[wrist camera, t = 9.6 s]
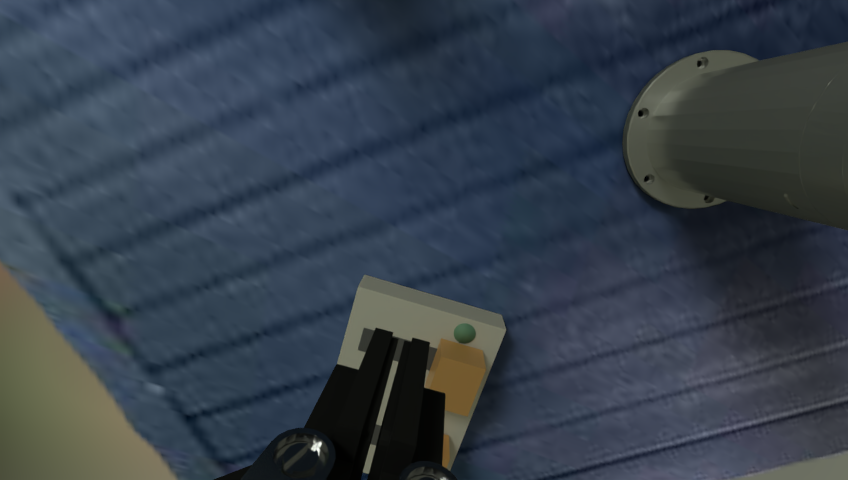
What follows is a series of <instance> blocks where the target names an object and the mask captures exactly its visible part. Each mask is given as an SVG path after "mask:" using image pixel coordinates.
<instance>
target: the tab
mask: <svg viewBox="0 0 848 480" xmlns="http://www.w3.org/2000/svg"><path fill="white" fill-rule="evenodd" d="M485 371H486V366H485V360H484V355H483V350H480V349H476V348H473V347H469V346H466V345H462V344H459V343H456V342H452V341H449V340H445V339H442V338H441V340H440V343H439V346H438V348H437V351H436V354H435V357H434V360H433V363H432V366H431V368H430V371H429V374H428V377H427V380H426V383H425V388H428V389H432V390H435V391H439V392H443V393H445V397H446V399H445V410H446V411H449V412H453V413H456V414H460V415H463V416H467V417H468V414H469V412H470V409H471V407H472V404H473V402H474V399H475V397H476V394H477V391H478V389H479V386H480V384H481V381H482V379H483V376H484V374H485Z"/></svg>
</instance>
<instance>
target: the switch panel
mask: <svg viewBox="0 0 848 480" xmlns="http://www.w3.org/2000/svg"><path fill="white" fill-rule="evenodd" d="M375 328H380V329H383V330H387V331H391V332H393V336H392V337H394V338H398V339H399V340H398V344H397V348H396V351H395V355H394V359H393V363H392V366H391V370H390V374H389V377H388V381H387V385H386V389H385V392H384V396H383V400H382V404H381V407H380V411H379V415H378V418H377V422H376V426H375V429H374V433H373V437H372V440H371V444H370V447H369V451H368V455H367V458H366V462H365V466H364V469H363V472H364V473H368V474H369V471H370V467H371V463H372V460H373V456H374V452H375V448H376V444H377V440H378V436H379V432H380V429H381V425H382V421H383V417H384V413H385V410H386V406H387V402H388V399H389V395H390V391H391V388H392V384H393V380H394V377H395V373H396V369H397V366H398V362H399V358H400V355H401V351H402V347H403V344H404V340H405V341H409V342H411V341H412V338H417V339H420V340H424V341H428V342H430V346H429V354H428V361H427V369H426V376H425V383H426V380H427V377H428V374H429V371H430V368H431V366H432V363H433V360H434V357H435V354H436V351H437V348H438V346H439V343H440V340H441V338H442V339H445V340H449V341H452V342H456V343H459V344H462V345H466V346H469V347H473V348H476V349H480V350H483V355H484V360H485V366H486V371H485V374H484V376H483V379H482V381H481V384H480V386H479V389H478V391H477V394H476V397H475V399H474V402H473V404H472V407H471V409H470V412H469V414H468V417H467V416H463V415H460V414H456V413H453V412H449V411H446V410H445V419H444V434H445V435H449V452H450V461H449V463H448V466H447V469H448V470H449V471H450V470H451V467H452V465H453V462H454V460H455V457H456V455H457V452H458V450H459V447H460V445H461V442H462V440H463V437H464V435H465V432H466V430H467V427H468V425H469V422H470V420H471V417H472V415H473V412H474V410H475V407H476V405H477V402H478V400H479V397H480V395H481V392H482V390H483V387H484V385H485V382H486V380H487V377H488V375H489V372H490V370H491V367H492V365H493V362H494V360H495V357H496V355H497V352H498V350H499V347H500V345H501V342H502V340H503V337H504V335H505V332H506V327H505V324H504V321H503V318H502V315H500V314H497V313H493V312H490V311H487V310H483V309H480V308H476V307H473V306H470V305H466V304H463V303H459V302H456V301H453V300H449V299H446V298H442V297H439V296H436V295H432V294H429V293H425V292H422V291H419V290H415V289H412V288H408V287H405V286H402V285H398V284H395V283H391V282H388V281H385V280H381V279H378V278H374V277H371V276H368V275H364V276H363V278H362V280H361V282H360V284H359V286H358V289H357V293H356V297H355V300H354V304H353V308H352V311H351V315H350V319H349V322H348V326H347V330H346V333H345V337H344V341H343V344H342V348H341V352H340V355H339V359H338V363H337V364H340V365H344V366H347V367H351V368H355V369H358V370H359V367H360V365H361V362H362V360H363V358H364V355H365V353H366V350H367V348H368V345H369V343H370V340H371V338H372V336H373V333H374V331H375ZM424 388H425V384H424Z"/></svg>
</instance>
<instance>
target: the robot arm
mask: <svg viewBox="0 0 848 480" xmlns="http://www.w3.org/2000/svg"><path fill="white" fill-rule="evenodd" d="M697 62H698V67H697ZM639 111H640V112H641V115H640V116H638V112H639ZM622 145H623V154H624V160H625V163H626V166H627V169H628V172H629V173H630V175H631V177H632V179H633V180H634V182H635V183H636V184H637V185H638V186H639V188H640V189H641V190H642V191H643V192H645V193H646V194H647V195H649V196H650V197H652V198H653V199H655V200H657V201H660V202H662V203H664V204H667V205H671V206H675V207H679V208H688V209H695V208H706V207H710V206H714V205H718V204H721V203H723V202H726V201H731V202H735V203H739V204H743V205H747V206H751V207H755V208H759V209H763V210H767V211H771V212H776V213H780V214H784V215H788V216H792V217H796V218H800V219H804V220H808V221H812V222H816V223H820V224H824V225H828V226H832V227H836V228H840V229H844V230H848V42H844V43H839V44H835V45H830V46H825V47H821V48H816V49H812V50H807V51H802V52H798V53H793V54H788V55H784V56H779V57H775V58H770V59H765V60H761V61H759V60H757V59H755V58H753V57H751V56H749V55H747V54H744V53H740V52H735V51H730V50H712V51H707V52H702V53H697V54H694V55H691V56H688V57H685V58H682V59H680V60H678V61H676V62H674V63H672V64H671V65H669V66H667V67H666V68H665V69H663V70H662V71H660V72H659V73H658V74H656V75H655V76H654V77H653V78H652V79H651V80H650V81H649V82H648V83H647V84H646V85H645V86H644V88H643V89H642V90H641V92H640V93H639V95H638V96H637V98H636V99H635V101H634V103H633V105H632V107H631V109H630V111H629V113H628V116H627V119H626V123H625V126H624V132H623V143H622ZM645 176H646V177H647V178H646V180H645V181H644V178H645ZM704 197H705V198H704ZM392 336H393V332H391V331H387V330H383V329H380V328H375V331H374V333H373V336H372V338H371V340H370V343H369V345H368V348H367V350H366V353H365V355H364V358H363V360H362V362H361V365H360V367H359V370H358V369H355V368H351V367H347V366H344V365H340V364H337V365H336V366H335V368H334V370H333V372H332V374H331V376H330V378H329V380H328V382H327V384H326V386H325V388H324V390H323V392H322V394H321V396H320V397H319V399H318V401H317V403H316V405H315V407H314V409H313V411H312V413H311V415H310V417H309V419H308V421H307V423H306V425H305V427H304V428H296V429H291V430H287V431H285V432H283V433H281V434H279V435H278V436H277V437H276V438H275V439H274V440H273V441H271V443H270V444H269V445H268V446H267V448H266V449H265V450H264V451H263V452H262V454H261V455H260V456H259V457H258V458H257V460H256V461H255V462H254V463H253V465H251V466H248V467H245V468H243V469H240V470H238V471H235V472H232V473H230V474H227V475H225V476H222V477H219V478H217V479H214V480H361V476H362V473H363V469H364V466H365V462H366V458H367V455H368V451H369V447H370V444H371V440H372V437H373V433H374V429H375V426H376V422H377V418H378V415H379V411H380V407H381V404H382V400H383V396H384V392H385V389H386V385H387V381H388V377H389V374H390V370H391V366H392V363H393V359H394V355H395V351H396V348H397V344H398V340H399V339H398V338H394V337H392ZM429 346H430V342H428V341H424V340H420V339H417V338H412V341H411V342H409V341H405V340H404V344H403V347H402V351H401V355H400V358H399V362H398V366H397V369H396V373H395V377H394V380H393V384H392V388H391V391H390V395H389V399H388V402H387V406H386V410H385V413H384V417H383V421H382V425H381V429H380V432H379V436H378V440H377V444H376V448H375V452H374V456H373V460H372V463H371V467H370V471H369V475H368V479H367V480H457V478H456V477H455V476H454V475H453V474H452V473H451V472H450V471H449V470H448V469H447V468H445V467H443V466H442V460H443V440H444V419H445V399H446V397H445V393H443V392H439V391H435V390H432V389H428V388H424V384H425V376H426V369H427V361H428V354H429Z"/></svg>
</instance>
